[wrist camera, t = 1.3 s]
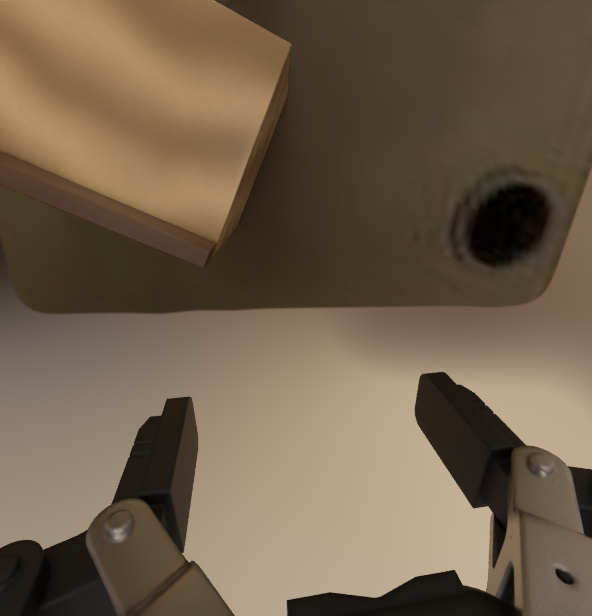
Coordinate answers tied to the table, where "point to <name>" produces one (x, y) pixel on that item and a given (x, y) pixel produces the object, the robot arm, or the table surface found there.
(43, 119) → the block
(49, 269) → the table surface
